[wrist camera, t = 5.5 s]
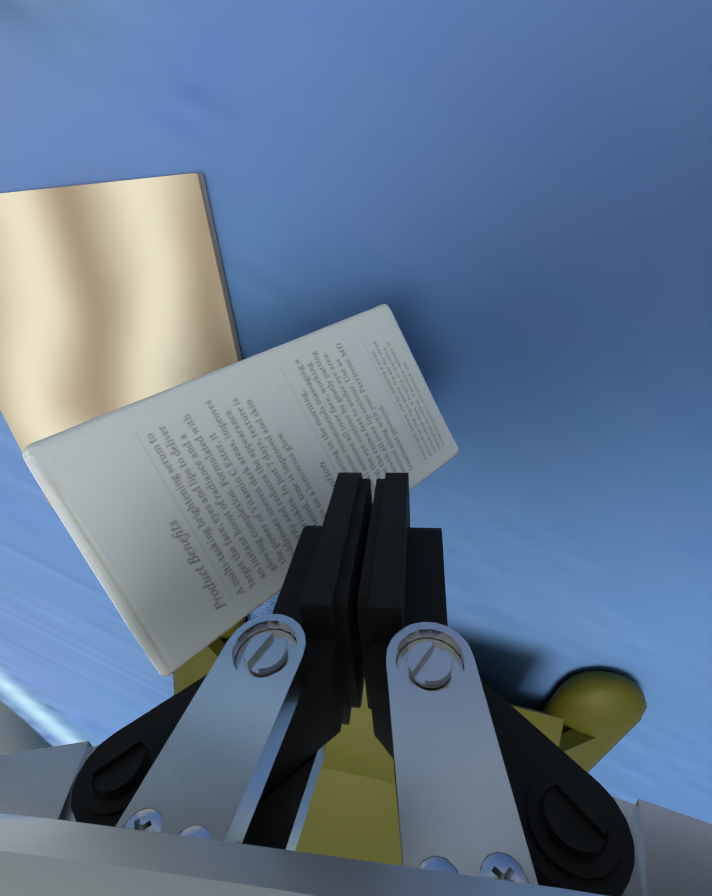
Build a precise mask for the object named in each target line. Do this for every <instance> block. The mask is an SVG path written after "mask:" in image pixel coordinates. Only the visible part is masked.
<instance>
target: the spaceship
mask: <svg viewBox="0 0 712 896" xmlns="http://www.w3.org/2000/svg"><path fill="white" fill-rule="evenodd" d="M244 623H245V617H244V618H243V619H242V620H241V621H239V622H238V623H237V624H236V625H234V626H233V627H232V628H230V629H229V630H228V631H227V632H225V633H224V634H223V635H221V636H220V637H219V638H218V639H216V640H215V641H214V642H212V643H211V644H210V645H208V646H207V647H206V648H204V649H203V650H202V651H200V652H199V653H198V654H197V655H195V656H194V657H193V658H192V659H190V660H189V661H188V662H187V663H185V664H184V665H183V666H181V667H180V668H179V669H177V670H176V671H175V672H173V680H174V695H176V694H177V693H179V692H180V691H182V690H183V689H185V688H187V687H188V686H190V685H191V684H193V683H194V682H196V681H198V680H199V679H201V678H202V677H204V676H205V675H207V674H208V673H209V671H210V669H211V668H212V666H213V664H214V663H215V661H216V659H217V658H218V656H219V654H220V653H221V651H222V650H223V648H224V646H225V645H226V643H227V641H228V640H229V638H230V637H231V636H232V635H233V633H234V632H235V631H236V630H237V629H238V628H239V627H241V626H242V625H243V624H244ZM509 704H510V705H512V706H513V707H514V708H515V709H516V710H517V711H518V712H520V713H521V714H522V715H523V716H524V717H525V718H526V719H527V720H529V721H530V722H531V723H532V724H533V725H534V726H535V727H536V728H538V729H539V730H540V731H541V732H542V733H543V734H544V735H545V736H547V737H548V738H549V739H550V740H551V741H552V742H553V743H555V744H556V745H557V746H558V747H559V748H560V749H561V750H562V751H564V752H565V753H566V754H567V755H568V756H569V757H570V758H571V759H573V760H574V761H575V762H576V763H577V764H578V765H579V766H581V767H582V768H583V769H584V770H585V771H586V772H587V773H588V772H589V771H590V770H591V769H592V768H593V767H594V766H595V765H596V764H597V763H598V762H599V761H600V760H601V759H602V758H603V757H604V756H605V755H606V754H607V753H608V752H609V751H610V750H611V749H612V748H613V747H614V746H615V745H616V744H617V743H618V742H619V741H620V740H621V739H622V738H623V737H624V736H625V735H626V734H627V733H628V732H629V731H630V730H631V729H632V728H633V727H634V726H635V725H636V724H637V723H638V722H639V721H640V720H641V717H642V715H643V713H644V712H645V710H646V708H647V706H646V701H645V697H644V694H643V692H642V690H641V689H640V688H639V687H638V686H637V685H636V684H635V683H634V682H633V681H631V680H630V679H628V678H626V677H624V676H621V675H619V674H617V673H614V672H609V671H601V670H595V671H585V672H582V673H579V674H576V675H573V676H571V677H570V678H569V679H568V680H566V681H565V682H564V683H563V684H562V685H561V686H560V687H559V688H558V690H557V691H556V692H555V693H554V695H553V696H552V697H551V699H550V700H549V701H548V703H547V704H546V705H545V707H544V708H543V709H542V711H541V712H540V711H537V710H534V709H530V708H526V707H522V706H519V705H515V704H511V703H509ZM326 744H327V745H326V751H325V757H324V760H323V763H322V767H321V770H320V773H319V776H318V780H317V783H316V786H315V789H314V792H313V796H312V799H311V802H310V805H309V808H308V812H307V815H306V818H305V821H304V824H303V828H302V831H301V834H300V837H299V841H298V844H297V847H296V850H295V851H298V852H305V853H313V854H320V855H327V856H335V857H342V858H349V859H356V860H364V861H371V862H378V863H386V864H393V865H400V866H402V858H401V846H400V834H399V822H398V811H397V799H396V787H395V775H394V764H393V758H392V757H391V756H390V754H389V753H388V752H387V751H386V749H385V748H384V747H383V745H382V744H381V743H380V742H379V740H378V739H377V738H376V737H375V735H374V729H373V720H372V711H371V709H368V703H367V694H366V686H365V679H364V687H363V695H362V703H361V707H360V708H353V707H352V708H351V716H350V723H349V725H346V724H342V725H341V731H340V732H339V733H338V734H337V735H336V736H335V737H334V738H332V739H331V740H330V741H329V742H328V743H326Z"/></svg>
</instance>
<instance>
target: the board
mask: <svg viewBox="0 0 712 896" xmlns="http://www.w3.org/2000/svg"><path fill="white" fill-rule="evenodd" d="M241 360H242V356H241V351H240V346H239V341H238V337H237V332H236V327H235V322H234V318H233V313H232V308H231V303H230V299H229V294H228V289H227V284H226V280H225V275H224V270H223V266H222V261H221V256H220V251H219V247H218V242H217V237H216V232H215V228H214V223H213V218H212V213H211V209H210V204H209V199H208V194H207V190H206V185H205V180H204V175H203V173H191V174H182V175H172V176H163V177H153V178H143V179H134V180H124V181H115V182H105V183H96V184H86V185H77V186H67V187H57V188H48V189H38V190H29V191H19V192H10V193H0V410H1V412H2V414H3V416H4V418H5V420H6V422H7V424H8V425H9V427H10V429H11V431H12V433H13V435H14V437H15V439H16V441H17V443H18V445H19V447H20V449H21V450H22V452H23V451H24V449H25V447H26V446H27V445H29V444H31V443H33V442H36V441H39V440H41V439H44V438H46V437H49V436H51V435H54V434H56V433H59V432H61V431H64V430H66V429H69V428H71V427H74V426H76V425H79V424H81V423H84V422H86V421H89V420H91V419H94V418H96V417H99V416H101V415H104V414H106V413H109V412H111V411H114V410H116V409H119V408H121V407H124V406H127V405H129V404H132V403H134V402H137V401H139V400H142V399H144V398H147V397H150V396H152V395H155V394H157V393H160V392H162V391H165V390H167V389H170V388H172V387H175V386H177V385H180V384H182V383H185V382H187V381H190V380H192V379H195V378H198V377H200V376H203V375H206V374H208V373H211V372H213V371H216V370H218V369H221V368H223V367H226V366H228V365H231V364H233V363H236V362H239V361H241ZM42 491H43V490H42ZM43 493H44V492H43ZM44 495H45V493H44ZM45 496H46V495H45ZM46 498H47V497H46ZM47 500H48V498H47ZM48 502H49V504H50V506H52V505H51V503H50V501H49V500H48Z"/></svg>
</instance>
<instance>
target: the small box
mask: <svg viewBox="0 0 712 896" xmlns="http://www.w3.org/2000/svg"><path fill="white" fill-rule="evenodd" d="M457 453H458V447H457V445H456V443H455V441H454V439H453V437H452V435H451V433H450V431H449V429H448V427H447V425H446V423H445V421H444V419H443V417H442V415H441V413H440V411H439V409H438V407H437V405H436V402H435V400H434V398H433V396H432V394H431V392H430V390H429V388H428V386H427V384H426V382H425V380H424V378H423V376H422V373H421V371H420V369H419V367H418V365H417V363H416V361H415V359H414V357H413V355H412V353H411V351H410V348H409V346H408V344H407V342H406V340H405V338H404V336H403V334H402V332H401V330H400V328H399V326H398V324H397V322H396V320H395V317H394V315H393V313H392V311H391V309H390V308H389V306H388V305H386V304H382V305H379V306H377V307H374V308H372V309H370V310H367V311H364V312H361V313H359V314H356V315H354V316H352V317H349V318H347V319H344V320H342V321H339V322H336V323H334V324H331V325H329V326H326V327H324V328H321V329H319V330H317V331H314V332H312V333H309V334H307V335H304V336H302V337H299V338H297V339H294V340H292V341H289V342H287V343H284V344H282V345H279V346H276V347H274V348H272V349H269V350H266V351H264V352H261V353H258V354H256V355H253V356H251V357H248V358H246V359H244V360H241V361H239V362H236V363H233V364H231V365H228V366H226V367H223V368H221V369H218V370H216V371H213V372H211V373H208V374H206V375H203V376H200V377H198V378H195V379H192V380H190V381H187V382H185V383H182V384H180V385H177V386H175V387H172V388H170V389H167V390H165V391H162V392H160V393H157V394H155V395H152V396H150V397H147V398H144V399H142V400H139V401H137V402H134V403H132V404H129V405H127V406H124V407H121V408H119V409H116V410H114V411H111V412H109V413H106V414H104V415H101V416H99V417H96V418H94V419H91V420H89V421H86V422H84V423H81V424H79V425H76V426H74V427H71V428H69V429H66V430H64V431H61V432H59V433H56V434H54V435H51V436H49V437H46V438H44V439H41V440H39V441H36V442H33V443H31V444H29V445H27V446H26V447H25V449H24V451H23V459H24V460H25V462H26V464H27V466H28V467H29V469H30V471H31V472H32V474H33V476H34V477H35V479H36V481H37V482H38V484H39V485H40V487H41V489H42V490H43V492H44V493H45V495H46V497H47V498H48V500H49V501H50V503H51V505H52V506H53V508H54V509H55V511H56V513H57V514H58V516H59V517H60V519H61V520H62V522H63V524H64V525H65V527H66V528H67V530H68V532H69V533H70V535H71V536H72V538H73V540H74V541H75V543H76V544H77V546H78V548H79V549H80V551H81V553H82V554H83V556H84V558H85V559H86V561H87V562H88V564H89V566H90V567H91V569H92V570H93V572H94V574H95V575H96V577H97V578H98V580H99V581H100V583H101V585H102V586H103V588H104V589H105V591H106V593H107V594H108V596H109V597H110V599H111V600H112V602H113V604H114V605H115V607H116V608H117V610H118V612H119V613H120V615H121V616H122V618H123V620H124V621H125V623H126V624H127V626H128V627H129V629H130V630H131V632H132V633H133V635H134V636H135V638H136V639H137V641H138V642H139V644H140V645H141V647H142V648H143V650H144V651H145V653H146V654H147V656H148V657H149V659H150V660H151V662H152V663H153V665H154V666H155V668H156V669H157V671H158V672H159V673H160V674H161V675H163V676H169V675H170V674H172V673H173V672H175V671H176V670H177V669H179V668H180V667H181V666H183V665H184V664H185V663H187V662H188V661H189V660H190V659H192V658H193V657H194V656H195V655H197V654H198V653H199V652H200V651H202V650H203V649H204V648H206V647H207V646H208V645H210V644H211V643H212V642H214V641H215V640H216V639H218V638H219V637H220V636H221V635H223V634H224V633H225V632H227V631H228V630H229V629H230V628H232V627H233V626H234V625H236V624H237V623H238V622H239V621H241V620H242V619H243V618H244V617H246V616H247V615H248V614H250V613H251V612H252V611H254V610H255V609H256V608H258V607H259V606H260V605H262V604H263V603H264V602H266V601H267V600H268V599H269V598H271V597H272V596H273V595H275V594H276V593H277V592H278V591H280V590H281V588H282V585H283V583H284V580H285V577H286V574H287V571H288V569H289V566H290V563H291V560H292V557H293V555H294V552H295V549H296V546H297V543H298V541H299V538H300V535H301V532H302V530H303V528H304V527H305V526H306V525H311V526H322V525H323V522H324V519H325V515H326V512H327V509H328V505H329V502H330V499H331V495H332V492H333V489H334V485H335V482H336V479H337V475H338V473H339V472H361V473H362V476H363V478H370V480H371V490H372V503H373V498H374V492H375V486H376V480H377V478H379V479H385V473H409V490H410V489H412V488H413V487H414V486H415V485H417V484H418V483H419V482H421V481H422V480H423V479H424V478H426V477H427V476H428V475H430V474H431V473H432V472H434V471H435V470H436V469H438V468H439V467H440V466H442V465H443V464H444V463H446V462H447V461H448V460H450V459H451V458H453V457H454V456H455V455H456V454H457Z"/></svg>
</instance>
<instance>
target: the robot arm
mask: <svg viewBox="0 0 712 896" xmlns="http://www.w3.org/2000/svg"><path fill="white" fill-rule="evenodd" d="M364 679H365V686H366V694H367V703H368V709H371V711H372V720H373V729H374V735H375V737H376V738H377V739H378V740H379V742H380V743H381V744H382V745H383V747H384V748H385V749H386V751H387V752H388V753H389V754H390V756H391V757H392V758H393V764H394V775H395V787H396V799H397V811H398V822H399V834H400V846H401V858H402V866H400V865H393V864H386V863H378V862H371V861H364V860H356V859H349V858H342V857H335V856H327V855H320V854H313V853H305V852H298V851H295V850H296V847H297V844H298V841H299V837H300V834H301V831H302V828H303V824H304V821H305V818H306V815H307V812H308V808H309V805H310V802H311V799H312V796H313V792H314V789H315V786H316V783H317V780H318V776H319V773H320V770H321V767H322V763H323V760H324V757H325V751H326V745H327V744H326V743H328V742H329V741H330V740H331V739H332V738H334V737H335V736H336V735H337V734H338V733H339V732H340V731H341V725H342V724H346V725H349V723H350V716H351V708H352V707H353V708H360V707H361V703H362V695H363V687H364ZM0 896H712V824H710V823H707V822H704V821H701V820H698V819H695V818H693V817H690V816H687V815H684V814H681V813H678V812H675V811H672V810H669V809H666V808H663V807H660V806H657V805H655V804H652V803H649V802H646V801H643V800H640V799H638V801H637V803H636V805H635V804H632V803H629V802H626V801H623V800H621V799H618V798H615V797H612V796H611V795H610V794H609V793H608V792H607V791H606V790H605V789H604V788H603V787H602V785H601V784H600V783H599V782H597V781H596V780H595V779H594V778H593V777H592V776H591V775H590V774H588V773H587V772H586V771H585V770H584V769H583V768H582V767H581V766H579V765H578V764H577V763H576V762H575V761H574V760H573V759H571V758H570V757H569V756H568V755H567V754H566V753H565V752H564V751H562V750H561V749H560V748H559V747H558V746H557V745H556V744H555V743H553V742H552V741H551V740H550V739H549V738H548V737H547V736H545V735H544V734H543V733H542V732H541V731H540V730H539V729H538V728H536V727H535V726H534V725H533V724H532V723H531V722H530V721H529V720H527V719H526V718H525V717H524V716H523V715H522V714H521V713H520V712H518V711H517V710H516V709H515V708H514V707H513V706H512V705H510V704H509V703H508V702H507V701H506V700H505V699H504V698H503V697H501V696H500V695H499V694H498V693H497V692H496V691H495V690H494V689H492V688H491V687H490V686H489V685H488V684H487V683H486V682H485V681H483V680H482V679H481V678H480V676H479V673H478V669H477V666H476V662H475V659H474V655H473V653H472V651H471V649H470V647H469V644H468V643H467V642H466V641H465V639H464V638H463V637H462V636H461V635H460V634H459V633H457V632H456V631H454V630H453V629H451V628H450V627H448V626H447V610H446V593H445V577H444V560H443V544H442V530H441V528H410V505H409V473H385V479H379V478H377V480H376V486H375V492H374V498H373V503H372V490H371V480H370V478H363V476H362V473H361V472H339V473H338V475H337V479H336V482H335V485H334V489H333V492H332V495H331V499H330V502H329V505H328V509H327V512H326V515H325V519H324V522H323V525H322V526H311V525H306V526H305V527H304V528H303V530H302V532H301V535H300V538H299V541H298V543H297V546H296V549H295V552H294V555H293V557H292V560H291V563H290V566H289V569H288V571H287V574H286V577H285V580H284V583H283V585H282V588H281V591H280V594H279V597H278V599H277V602H276V605H275V608H274V611H273V613H272V614H267V615H262V616H258V617H256V618H254V619H251V620H249V621H247V622H246V623H244V624H243V625H242V626H241V627H239V628H238V629H237V630H236V631H235V632H234V633H233V635H232V636H231V637H230V638H229V640H228V641H227V643H226V645H225V646H224V648H223V650H222V651H221V653H220V654H219V656H218V658H217V659H216V661H215V663H214V664H213V666H212V668H211V669H210V671H209V673H208V674H207V675H205V676H204V677H202V678H201V679H199V680H198V681H196V682H194V683H193V684H191V685H190V686H188V687H187V688H185V689H183V690H182V691H180V692H179V693H177V694H176V695H174V696H172V697H171V698H169V699H168V700H166V701H165V702H163V703H161V704H160V705H158V706H157V707H155V708H154V709H152V710H150V711H149V712H147V713H146V714H144V715H143V716H141V717H139V718H138V719H136V720H135V721H133V722H132V723H130V724H128V725H127V726H125V727H124V728H122V729H121V730H119V731H117V732H116V733H114V734H113V735H112V736H110V737H109V738H108V739H106V740H105V741H104V742H103V743H101V744H100V745H99V746H93V747H92V745H91V744H90V742H89V741H87V742H80V743H74V744H68V745H62V746H55V747H49V748H44V749H37V750H31V751H24V752H18V753H12V754H6V755H0Z"/></svg>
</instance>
